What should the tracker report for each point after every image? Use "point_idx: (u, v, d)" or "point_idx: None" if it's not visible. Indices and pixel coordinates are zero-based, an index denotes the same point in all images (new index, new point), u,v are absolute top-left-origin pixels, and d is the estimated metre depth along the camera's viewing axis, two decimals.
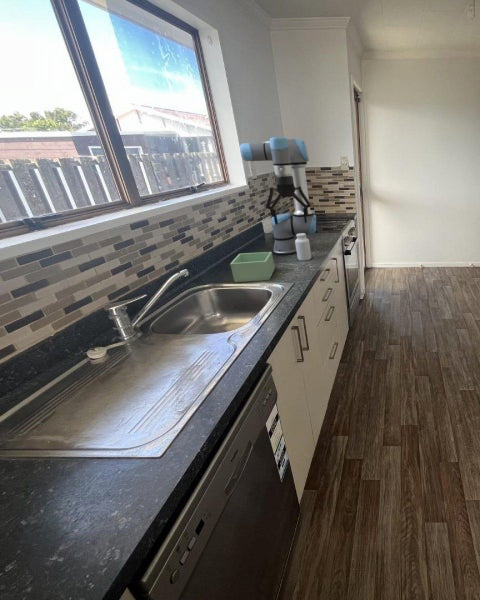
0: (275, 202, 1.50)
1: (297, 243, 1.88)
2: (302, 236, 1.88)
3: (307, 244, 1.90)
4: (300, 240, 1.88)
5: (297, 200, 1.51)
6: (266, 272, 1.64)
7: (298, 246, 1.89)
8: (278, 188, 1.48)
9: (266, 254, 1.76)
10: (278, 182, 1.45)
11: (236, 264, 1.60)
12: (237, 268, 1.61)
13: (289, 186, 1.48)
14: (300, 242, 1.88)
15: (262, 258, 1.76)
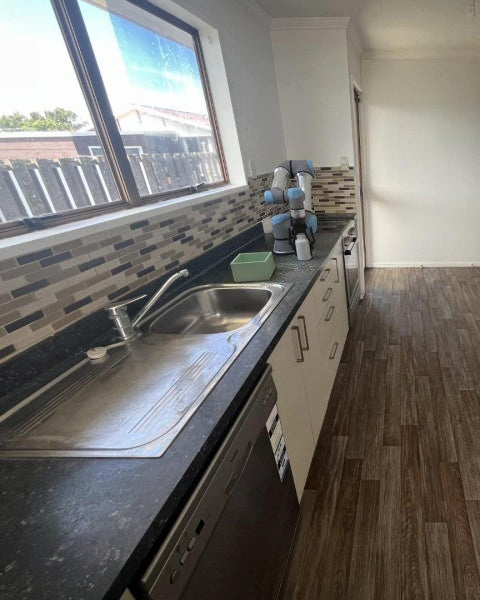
0: (294, 239, 1.89)
1: (297, 243, 1.88)
2: (302, 236, 1.88)
3: (307, 244, 1.90)
4: (300, 240, 1.88)
5: None
6: (266, 272, 1.64)
7: (298, 246, 1.89)
8: (294, 226, 1.86)
9: (266, 254, 1.76)
10: (294, 222, 1.84)
11: (236, 264, 1.60)
12: (237, 268, 1.61)
13: (302, 225, 1.87)
14: (300, 242, 1.88)
15: (262, 258, 1.76)
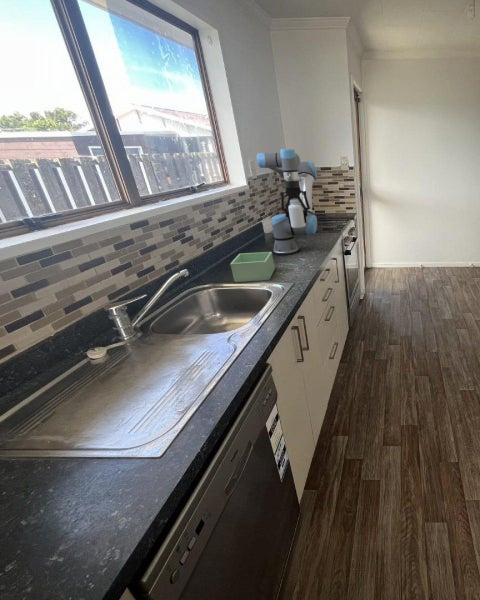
0: (287, 204, 1.80)
1: (290, 209, 1.79)
2: (295, 201, 1.79)
3: (301, 210, 1.81)
4: (293, 205, 1.79)
5: (300, 202, 1.81)
6: (266, 272, 1.64)
7: (291, 212, 1.80)
8: (287, 191, 1.77)
9: (266, 254, 1.76)
10: (287, 186, 1.74)
11: (236, 264, 1.60)
12: (237, 268, 1.61)
13: (296, 189, 1.77)
14: (293, 207, 1.79)
15: (262, 258, 1.76)
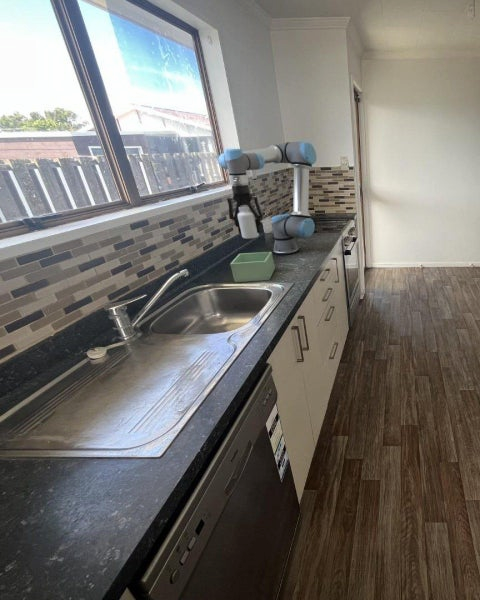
0: (236, 212, 1.58)
1: (239, 217, 1.57)
2: (245, 208, 1.57)
3: (252, 218, 1.59)
4: (243, 213, 1.57)
5: (251, 209, 1.58)
6: (266, 272, 1.64)
7: (241, 220, 1.58)
8: (234, 196, 1.55)
9: (266, 254, 1.76)
10: (234, 191, 1.52)
11: (236, 264, 1.60)
12: (237, 268, 1.61)
13: (245, 195, 1.55)
14: (243, 215, 1.56)
15: (262, 258, 1.76)
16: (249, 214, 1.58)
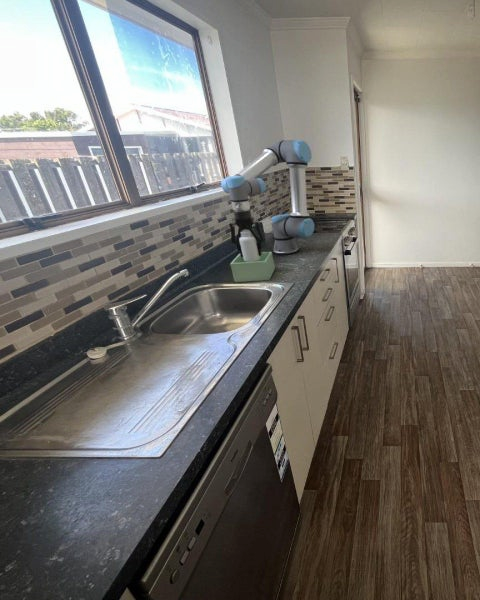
0: (238, 236, 1.61)
1: (241, 241, 1.61)
2: (247, 233, 1.60)
3: (253, 242, 1.63)
4: (244, 238, 1.60)
5: (252, 234, 1.62)
6: (266, 272, 1.64)
7: (242, 245, 1.61)
8: (236, 222, 1.59)
9: (266, 254, 1.76)
10: (236, 217, 1.56)
11: (236, 264, 1.60)
12: (237, 268, 1.61)
13: (247, 220, 1.59)
14: (244, 240, 1.60)
15: (262, 258, 1.76)
16: (251, 238, 1.61)
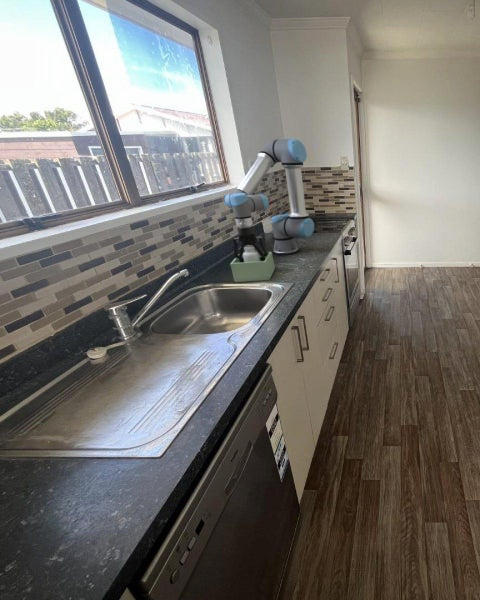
0: (241, 251, 1.65)
1: (244, 256, 1.64)
2: (250, 248, 1.64)
3: (256, 257, 1.66)
4: (248, 253, 1.64)
5: (256, 249, 1.65)
6: (266, 272, 1.64)
7: (246, 260, 1.65)
8: (240, 237, 1.62)
9: None
10: (239, 233, 1.59)
11: (236, 264, 1.60)
12: (237, 268, 1.61)
13: (250, 235, 1.62)
14: (248, 255, 1.63)
15: None
16: (254, 254, 1.65)
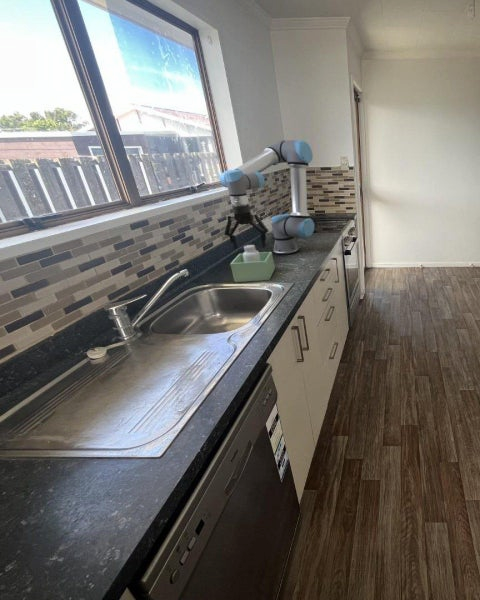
0: (233, 229, 1.60)
1: (244, 256, 1.64)
2: (250, 248, 1.64)
3: (256, 257, 1.66)
4: (248, 253, 1.64)
5: (254, 227, 1.61)
6: (266, 272, 1.64)
7: (246, 260, 1.65)
8: (235, 216, 1.58)
9: (266, 254, 1.76)
10: (234, 211, 1.55)
11: (236, 264, 1.60)
12: (237, 268, 1.61)
13: (246, 214, 1.58)
14: (248, 255, 1.63)
15: (262, 258, 1.76)
16: (254, 254, 1.65)
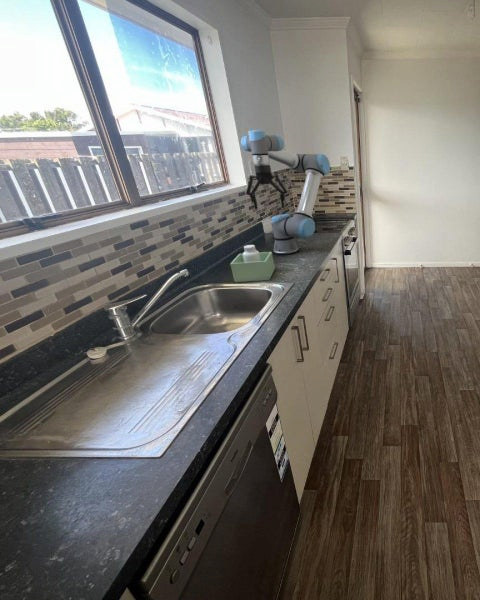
0: (254, 189, 1.67)
1: (244, 256, 1.64)
2: (250, 248, 1.64)
3: (256, 257, 1.66)
4: (248, 253, 1.64)
5: (274, 187, 1.69)
6: (266, 272, 1.64)
7: (246, 260, 1.65)
8: (257, 176, 1.65)
9: (266, 254, 1.76)
10: (256, 170, 1.62)
11: (236, 264, 1.60)
12: (237, 268, 1.61)
13: (267, 174, 1.66)
14: (248, 255, 1.63)
15: (262, 258, 1.76)
16: (254, 254, 1.65)
